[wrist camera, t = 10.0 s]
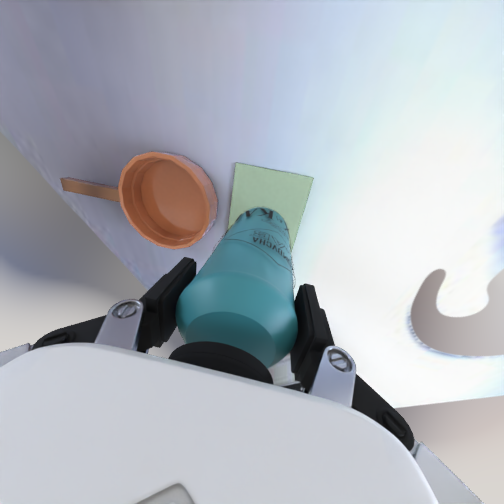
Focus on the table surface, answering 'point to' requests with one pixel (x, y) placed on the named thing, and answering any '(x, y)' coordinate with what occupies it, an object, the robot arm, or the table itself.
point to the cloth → (270, 194)
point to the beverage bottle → (241, 301)
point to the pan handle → (90, 189)
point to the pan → (167, 199)
